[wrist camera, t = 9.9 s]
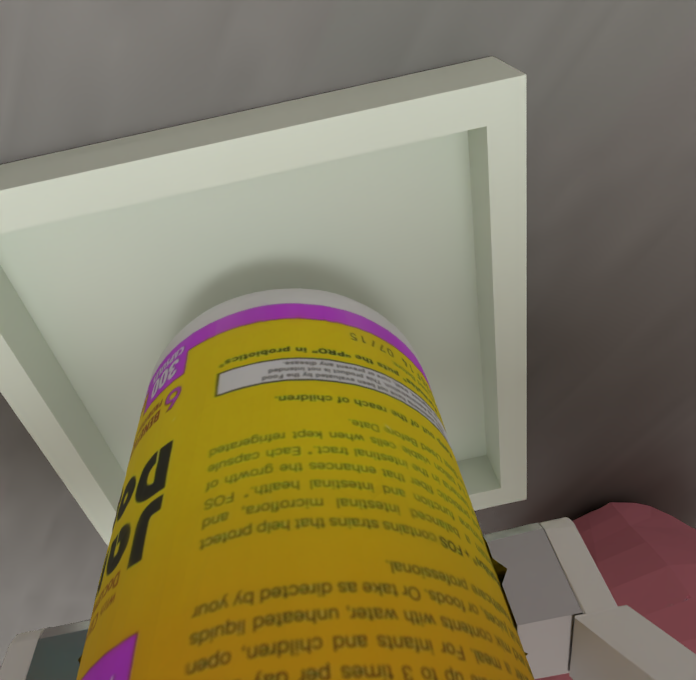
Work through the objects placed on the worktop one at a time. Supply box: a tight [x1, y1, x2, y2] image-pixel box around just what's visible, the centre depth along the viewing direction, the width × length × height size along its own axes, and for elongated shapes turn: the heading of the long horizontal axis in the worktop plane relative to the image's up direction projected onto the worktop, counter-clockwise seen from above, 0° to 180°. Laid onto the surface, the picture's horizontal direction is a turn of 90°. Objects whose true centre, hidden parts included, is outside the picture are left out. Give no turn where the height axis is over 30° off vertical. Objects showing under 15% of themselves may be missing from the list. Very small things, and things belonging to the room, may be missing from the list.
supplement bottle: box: [76, 288, 534, 680], centre depth 9 cm, size 7×7×13 cm
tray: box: [0, 56, 527, 546], centre depth 16 cm, size 13×13×2 cm
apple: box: [535, 502, 696, 680], centre depth 19 cm, size 10×9×10 cm
